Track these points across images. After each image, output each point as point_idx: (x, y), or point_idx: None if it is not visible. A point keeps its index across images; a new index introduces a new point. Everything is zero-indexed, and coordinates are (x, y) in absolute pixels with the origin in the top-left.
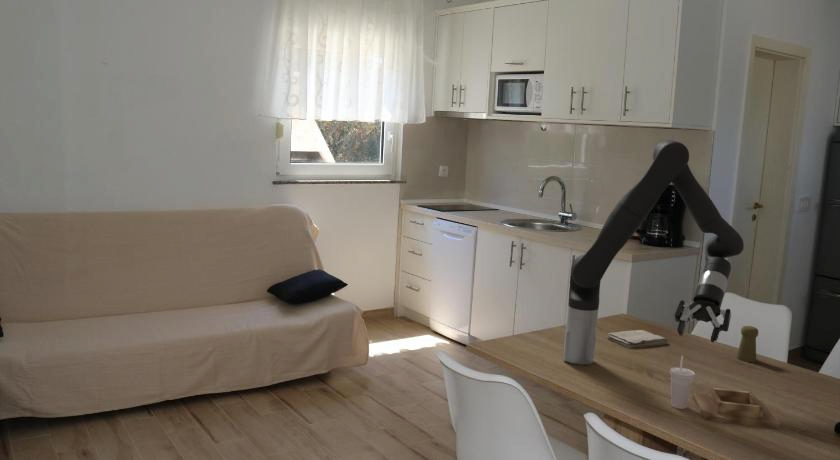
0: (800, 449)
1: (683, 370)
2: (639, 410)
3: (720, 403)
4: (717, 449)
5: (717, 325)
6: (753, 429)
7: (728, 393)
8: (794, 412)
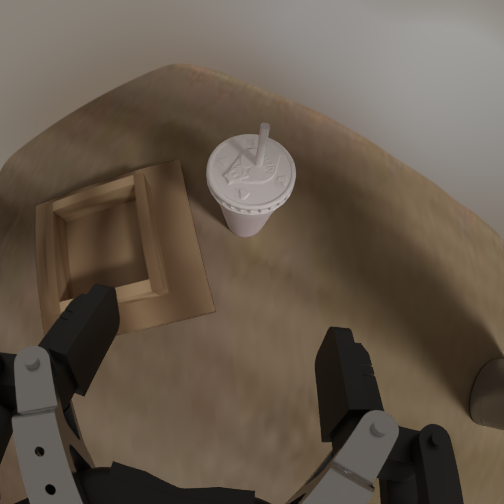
0: (39, 140)
1: (249, 172)
2: (321, 149)
3: (138, 175)
4: (168, 70)
5: (31, 355)
6: (87, 175)
7: None
8: (3, 330)
